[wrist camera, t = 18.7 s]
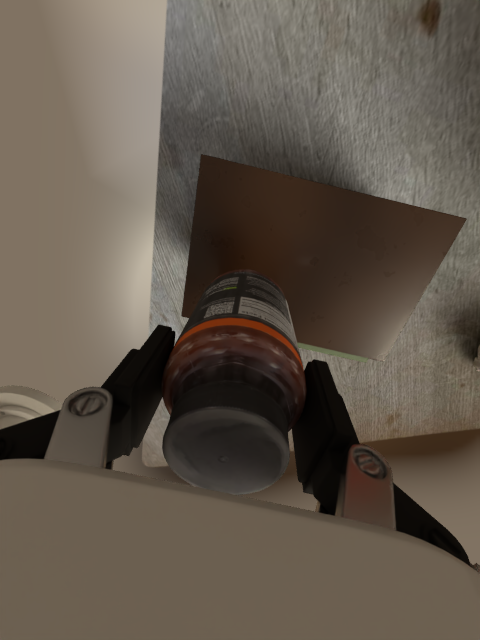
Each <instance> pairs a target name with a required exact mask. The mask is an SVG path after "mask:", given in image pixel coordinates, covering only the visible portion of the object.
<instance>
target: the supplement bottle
mask: <svg viewBox="0 0 480 640" xmlns="http://www.w3.org/2000/svg"><path fill="white" fill-rule="evenodd" d="M306 392H307V389H306V380H305V374H304V370H303V365H302V361H301V357H300V353H299V349H298V345H297V340H296V337H295V333H294V328H293V324H292V320H291V316H290V312H289V308H288V304H287V301H286V298H285V296H284V293H283V292H282V290H281V288H280V287H279V286H278V284H277V283H275V282H274V281H273V280H272V279H271V278H269V277H268V276H266V275H264V274H262V273H260V272H257V271H254V270H249V269H245V270H242V269H240V270H233V271H229V272H226V273H224V274H222V275H220V276H218V277H217V278H216V279H214V280H213V281H212V282H211V283H210V284H209V286H208V287H207V288H206V290H205V291H204V293H203V294H202V296H201V298H200V300H199V301H198V303H197V305H196V307H195V309H194V311H193V313H192V315H191V316H190V318H189V320H188V322H187V324H186V325H185V327H184V329H183V331H182V333H181V335H180V336H179V338H178V340H177V342H176V344H175V346H174V348H173V350H172V352H171V354H170V356H169V358H168V360H167V363H166V365H165V368H164V371H163V375H162V396H163V400H164V403H165V406H166V408H167V410H168V412H169V414H170V420H169V423H168V426H167V428H166V431H165V434H164V437H163V446H162V449H163V453H164V457H165V459H166V461H167V463H168V465H169V467H170V468H171V469H172V470H173V471H174V472H175V474H176V475H178V476H179V477H180V478H182V479H183V480H185V481H186V482H188V483H190V484H191V485H193V486H195V487H199V488H204V489H209V490H214V491H219V492H224V493H229V494H233V495H241V494H249V493H253V492H257V491H260V490H263V489H265V488H267V487H269V486H270V485H272V484H273V483H275V482H276V481H277V480H278V479H280V477H281V476H282V475H283V474H284V472H285V470H286V468H287V465H288V463H289V455H290V454H289V441H288V431H290V430H291V428H292V427H293V426H294V425H295V424H296V422H297V421H298V420H299V418H300V416H301V413H302V412H303V409H304V405H305V400H306Z"/></svg>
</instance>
